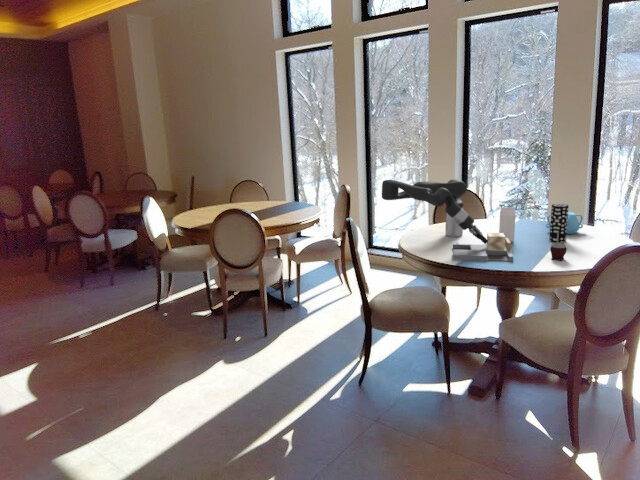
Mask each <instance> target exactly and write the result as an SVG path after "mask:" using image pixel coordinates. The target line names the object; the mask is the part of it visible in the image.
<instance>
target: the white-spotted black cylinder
mask: <svg viewBox="0 0 640 480" xmlns="http://www.w3.org/2000/svg"><path fill="white" fill-rule="evenodd" d="M569 207H570V206H569V204H564V203H554V204H551V211H550V214H551V216H550V221H551V223H550V228H549V239H548V240H549V242H552V243H554V242H557V232H558V234H559V237H558V242H561V243H566V241H567V233H566V232H567V219H568V212H569V211H568V210H569Z"/></svg>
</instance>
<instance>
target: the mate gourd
mask: <svg viewBox="0 0 640 480" xmlns="http://www.w3.org/2000/svg"><path fill="white" fill-rule="evenodd" d="M558 237H559V234H558V232H557V242H552V244H551V245H550V250H549V251H550V254H551V261H556V260H557V261H560V262H562V261H563V260H564V259H565V258H564V257H565V255H566V253H567V250H568V248H567V245H566V243H565V242H562V243H561V242H558Z"/></svg>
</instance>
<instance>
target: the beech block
mask: <svg viewBox="0 0 640 480" xmlns="http://www.w3.org/2000/svg"><path fill="white" fill-rule="evenodd" d="M486 239H487V240H488V242H487V243H486V245H487V248H488V250H505V235H504V233H499V232H487V237H486Z"/></svg>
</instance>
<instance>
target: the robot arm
mask: <svg viewBox="0 0 640 480" xmlns="http://www.w3.org/2000/svg"><path fill="white" fill-rule="evenodd" d="M399 189H401V190H402V191H399ZM467 190H468V187H467V184H466V183H465V182H464V181H463V180H458V179H456V178H455V179H450V180H449V181H447V182H438V181H418V182H415V183H414V184H408V183H405V182H403V181H398V180H396V179H386V180H385V179H384V180H383V181H382V183H381V199H382V200H384V201H396V200H404V199H412V200H413V199H414V200H417V201H422V202H426V203H427V204H430V205H432V206H434V207H441V206H443V205H444V204H445V208H444V211H445V213H446V219H445V233H444V234H445V236H448V237H453V238H458V237H459V238H460V237H463V231H466V230H468V231H469V234H472V235H473V236H474V237H475V238H476V239H478V240H480V241H481V242H482V243H484V244H483V245H487V242H488V240H487V237H485V236H484V235H483V233H482V232H481V231H480V229H479V228H478V227H477V225H475V224H474V223H475V218H473V217H472V216H471V215H470V214H469V213H468V212H467V211H466V210H464V202H463V201H462V199H461V196H463V195H465V194H466V192H467ZM473 224H474V225H473Z"/></svg>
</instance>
